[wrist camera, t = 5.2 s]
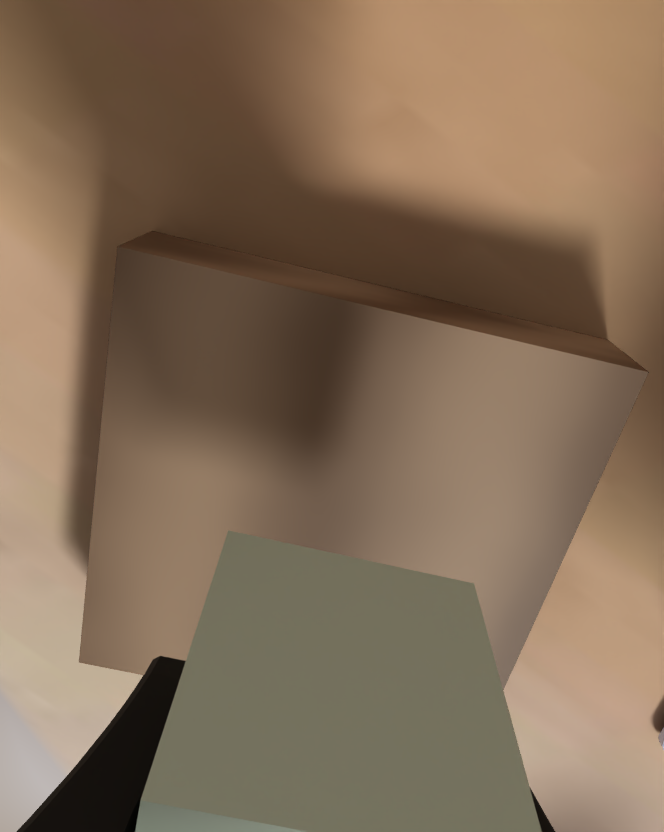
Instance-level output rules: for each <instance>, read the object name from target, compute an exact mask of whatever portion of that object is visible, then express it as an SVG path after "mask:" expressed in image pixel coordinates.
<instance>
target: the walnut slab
mask: <svg viewBox="0 0 664 832" xmlns="http://www.w3.org/2000/svg"><path fill="white" fill-rule="evenodd" d="M648 373H649V372H648V371H647V370H645V369H644V368H643V367H642V366H640V365H639V364H638V363H637V362H635V361H634V360H633V359H631V358H630V357H629V356H628V355H626V354H625V353H624V352H623V351H621V350H620V349H619V348H618V347H616V346H615V345H614V344H612V343H611V342H610V341H609V340H606V339H602V338H598V337H594V336H590V335H585V334H581V333H577V332H573V331H569V330H564V329H560V328H556V327H552V326H548V325H543V324H539V323H535V322H531V321H527V320H522V319H518V318H514V317H510V316H506V315H502V314H497V313H493V312H489V311H485V310H481V309H476V308H472V307H468V306H464V305H460V304H455V303H451V302H447V301H443V300H439V299H435V298H430V297H426V296H422V295H418V294H414V293H409V292H405V291H401V290H397V289H393V288H388V287H384V286H380V285H376V284H372V283H367V282H363V281H359V280H355V279H351V278H347V277H342V276H338V275H334V274H330V273H326V272H321V271H317V270H313V269H309V268H305V267H300V266H296V265H292V264H288V263H284V262H279V261H275V260H271V259H267V258H263V257H259V256H254V255H250V254H246V253H242V252H238V251H233V250H229V249H225V248H221V247H217V246H212V245H208V244H204V243H200V242H196V241H192V240H187V239H183V238H179V237H175V236H171V235H166V234H162V233H158V232H154V231H151V232H149V233H147V234H144V235H142V236H140V237H138V238H135V239H133V240H131V241H129V242H126V243H124V244H122V245H120V246H117V257H116V268H115V278H114V289H113V300H112V311H111V322H110V332H109V343H108V354H107V365H106V376H105V386H104V397H103V408H102V419H101V430H100V440H99V451H98V462H97V473H96V484H95V494H94V505H93V516H92V527H91V538H90V548H89V559H88V570H87V581H86V592H85V602H84V613H83V624H82V635H81V646H80V656H79V662H80V663H85V664H90V665H95V666H100V667H105V668H110V669H115V670H120V671H125V672H131V673H136V674H141V675H144V674H145V672H146V671H147V669H148V667H149V665H150V664H151V662H152V660H153V659H155V658H157V657H159V656H164V657H169V658H174V659H179V660H184V661H186V659H187V656H188V653H189V650H190V647H191V644H192V640H193V637H194V634H195V631H196V628H197V625H198V622H199V619H200V616H201V613H202V610H203V607H204V604H205V600H206V597H207V594H208V591H209V588H210V585H211V582H212V579H213V576H214V573H215V570H216V567H217V564H218V560H219V557H220V554H221V551H222V548H223V545H224V542H225V539H226V536H227V533H228V530H229V531H234V532H238V533H243V534H247V535H252V536H257V537H261V538H266V539H271V540H275V541H280V542H284V543H289V544H294V545H298V546H303V547H308V548H312V549H317V550H321V551H326V552H331V553H335V554H340V555H345V556H349V557H354V558H358V559H363V560H368V561H372V562H377V563H382V564H386V565H391V566H395V567H400V568H405V569H409V570H414V571H419V572H423V573H428V574H432V575H437V576H442V577H446V578H451V579H456V580H460V581H465V582H469V583H474V585H475V589H476V592H477V596H478V600H479V603H480V607H481V611H482V614H483V618H484V622H485V625H486V629H487V633H488V636H489V640H490V644H491V647H492V651H493V655H494V659H495V662H496V666H497V670H498V673H499V677H500V681H501V684H502V688H503V690H504V687H505V685H506V683H507V681H508V679H509V676H510V674H511V672H512V670H513V668H514V666H515V663H516V661H517V659H518V657H519V655H520V652H521V650H522V648H523V646H524V644H525V642H526V639H527V637H528V635H529V633H530V631H531V628H532V626H533V624H534V622H535V620H536V617H537V615H538V613H539V611H540V609H541V607H542V604H543V602H544V600H545V598H546V596H547V593H548V591H549V589H550V587H551V585H552V583H553V580H554V578H555V576H556V574H557V572H558V569H559V567H560V565H561V563H562V561H563V559H564V556H565V554H566V552H567V550H568V548H569V545H570V543H571V541H572V539H573V537H574V535H575V532H576V530H577V528H578V526H579V524H580V521H581V519H582V517H583V515H584V513H585V510H586V508H587V506H588V504H589V502H590V500H591V497H592V495H593V493H594V491H595V489H596V486H597V484H598V482H599V480H600V478H601V476H602V473H603V471H604V469H605V467H606V465H607V462H608V460H609V458H610V456H611V454H612V452H613V449H614V447H615V445H616V443H617V441H618V438H619V436H620V434H621V432H622V430H623V428H624V425H625V423H626V421H627V419H628V417H629V414H630V412H631V410H632V408H633V406H634V403H635V401H636V399H637V397H638V395H639V393H640V390H641V388H642V386H643V384H644V382H645V379H646V377H647V375H648Z"/></svg>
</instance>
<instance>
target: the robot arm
mask: <svg viewBox="0 0 664 832" xmlns="http://www.w3.org/2000/svg"><path fill="white" fill-rule="evenodd" d="M185 662H186V661H184V660H179V659H174V658H169V657H164V656H159V657H157V658H155V659H153V660H152V662H151V664H150V665H149V667H148V669H147V671H146V672H145V674H144V676H143V677H142V679H141V680H140V682H139V683H138V685H137V686H136V688H135V689H134V691H133V692H132V694H131V695H130V697H129V698H128V699H127V701H126V702H125V704H124V705H123V706H122V708H121V709H120V710H119V712H118V713H117V714H116V716H115V717H114V719H113V720H112V721H111V723H110V724H109V725H108V726H107V728H106V729H105V730H104V731H103V733H102V734H101V735H100V736H99V738H98V739H97V740H96V741H95V743H94V744H93V745H92V746H91V748H90V749H89V750H88V751H87V753H86V754H85V755H84V756H83V758H82V759H81V760H80V761H79V763H78V764H77V765H76V766H75V767H74V768H73V770H72V771H71V772H70V773H69V774H68V775H67V777H66V778H65V779H64V780H63V781H62V782H61V783H60V784H59V786H58V787H57V788H56V789H55V790H54V791H53V792H52V793H51V794H50V796H49V797H48V798H47V799H46V800H45V801H44V802H43V803H42V805H41V806H40V807H39V808H38V809H37V810H36V811H35V812H34V814H33V815H32V816H31V817H30V818H29V819H28V820H27V821H26V822H25V823H24V824H23V825H22V826H21V828H20V829H19V830H18V831H17V832H135V830H136V824H137V818H138V812H139V807H140V801H141V797H142V794H143V791H144V788H145V785H146V782H147V779H148V776H149V773H150V770H151V767H152V764H153V760H154V757H155V754H156V751H157V748H158V745H159V742H160V739H161V736H162V733H163V730H164V727H165V724H166V720H167V717H168V714H169V711H170V708H171V705H172V702H173V699H174V696H175V693H176V690H177V687H178V684H179V680H180V677H181V674H182V671H183V668H184V665H185ZM658 738H659V742H660V744H661V746H662V748H663V750H664V728H663V729H662V731H661V732H660V734H659V737H658ZM530 791H531V794H532V798H533V802H534V805H535V809H536V813H537V816H538V820H539V824H540V827H541V831H542V832H555V831H554V829H553V827H552V826H551V824H550V822H549V820H548V819H547V817H546V815H545V813H544V812H543V810H542V808H541V806H540V805H539V803H538V801H537V799H536V797H535V796H534V794H533V792H532V790H531V788H530Z"/></svg>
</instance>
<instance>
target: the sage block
mask: <svg viewBox="0 0 664 832" xmlns="http://www.w3.org/2000/svg"><path fill="white" fill-rule="evenodd" d="M135 832H542V831H541V827H540V824H539V820H538V816H537V813H536V809H535V805H534V802H533V798H532V794H531V791H530V787H529V783H528V780H527V776H526V772H525V769H524V765H523V761H522V758H521V754H520V750H519V747H518V743H517V739H516V736H515V732H514V728H513V725H512V721H511V717H510V714H509V710H508V706H507V703H506V699H505V695H504V692H503V688H502V684H501V681H500V677H499V673H498V670H497V666H496V662H495V659H494V655H493V651H492V647H491V644H490V640H489V636H488V633H487V629H486V625H485V622H484V618H483V614H482V611H481V607H480V603H479V600H478V596H477V592H476V589H475V585H474V583H469V582H465V581H460V580H456V579H451V578H446V577H442V576H437V575H432V574H428V573H423V572H419V571H414V570H409V569H405V568H400V567H395V566H391V565H386V564H382V563H377V562H372V561H368V560H363V559H358V558H354V557H349V556H345V555H340V554H335V553H331V552H326V551H321V550H317V549H312V548H308V547H303V546H298V545H294V544H289V543H284V542H280V541H275V540H271V539H266V538H261V537H257V536H252V535H247V534H243V533H238V532H234V531H229V530H228V533H227V536H226V539H225V542H224V545H223V548H222V551H221V554H220V557H219V560H218V564H217V567H216V570H215V573H214V576H213V579H212V582H211V585H210V588H209V591H208V594H207V597H206V600H205V604H204V607H203V610H202V613H201V616H200V619H199V622H198V625H197V628H196V631H195V634H194V637H193V640H192V644H191V647H190V650H189V653H188V656H187V659H186V662H185V665H184V668H183V671H182V674H181V677H180V680H179V684H178V687H177V690H176V693H175V696H174V699H173V702H172V705H171V708H170V711H169V714H168V717H167V720H166V724H165V727H164V730H163V733H162V736H161V739H160V742H159V745H158V748H157V751H156V754H155V757H154V760H153V764H152V767H151V770H150V773H149V776H148V779H147V782H146V785H145V788H144V791H143V794H142V797H141V801H140V807H139V812H138V818H137V824H136V830H135Z"/></svg>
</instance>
